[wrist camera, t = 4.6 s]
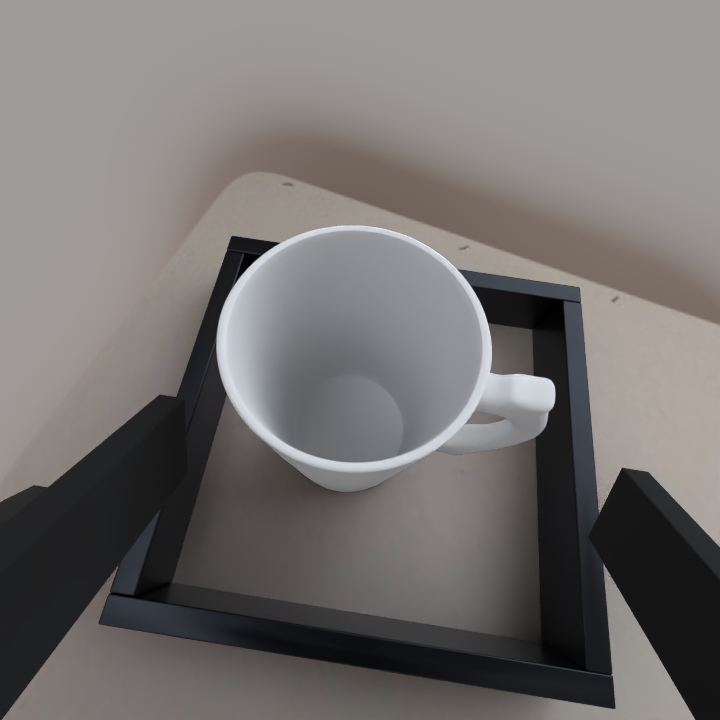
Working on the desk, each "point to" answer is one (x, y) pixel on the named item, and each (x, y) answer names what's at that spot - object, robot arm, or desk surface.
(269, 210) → the desk surface
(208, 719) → the desk surface
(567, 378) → the black square frame
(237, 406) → the mug
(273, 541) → the desk surface
